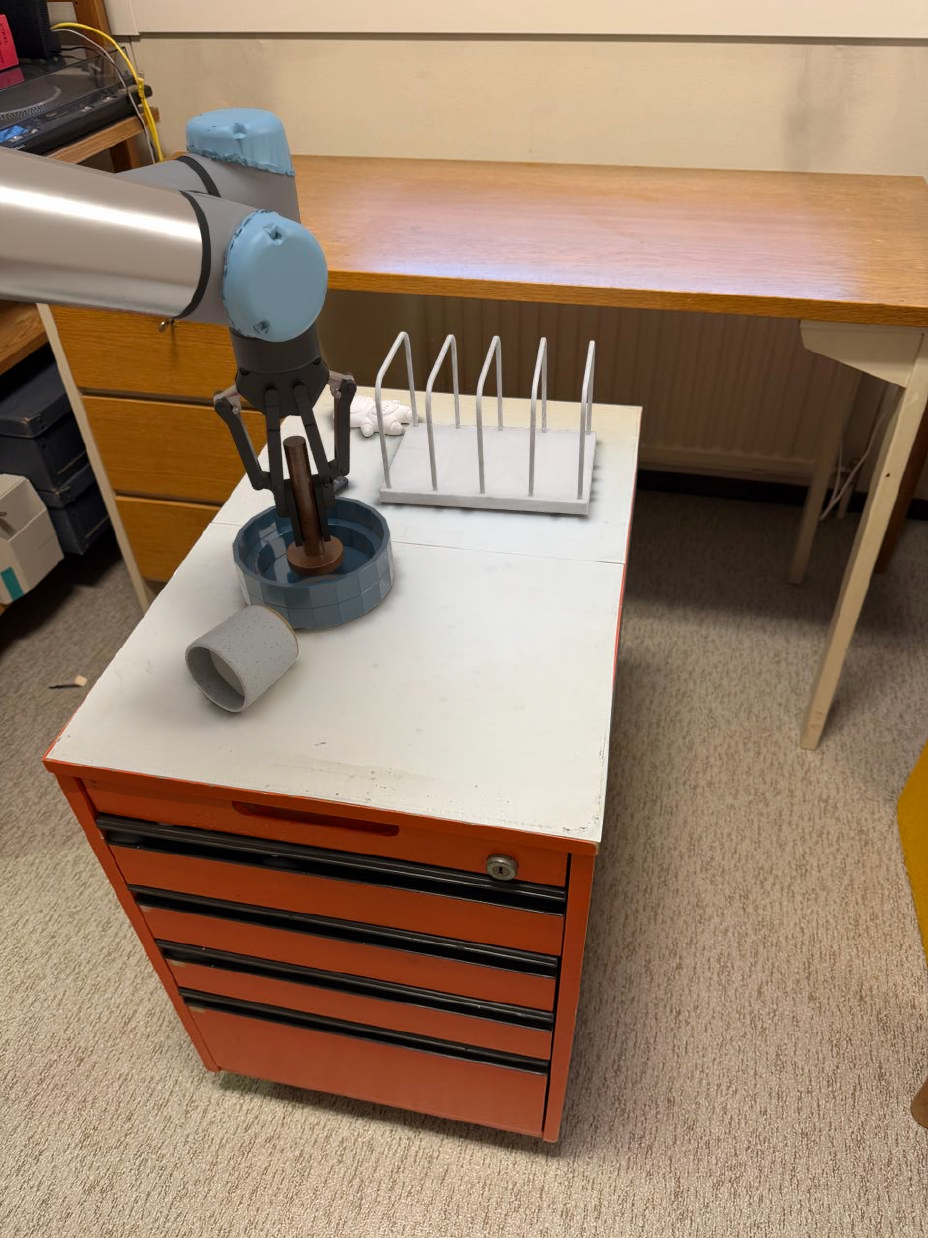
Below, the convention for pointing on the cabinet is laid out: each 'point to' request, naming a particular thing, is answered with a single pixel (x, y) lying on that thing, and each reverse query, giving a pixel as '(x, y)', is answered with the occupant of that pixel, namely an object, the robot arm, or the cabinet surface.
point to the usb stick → (340, 484)
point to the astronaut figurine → (366, 415)
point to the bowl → (324, 595)
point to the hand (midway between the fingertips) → (312, 536)
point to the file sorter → (490, 449)
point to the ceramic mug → (242, 656)
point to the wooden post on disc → (308, 517)
